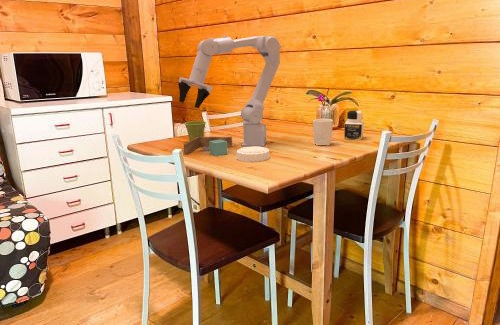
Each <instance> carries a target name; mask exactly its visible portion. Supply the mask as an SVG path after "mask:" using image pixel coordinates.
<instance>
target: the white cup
mask: <svg viewBox="0 0 500 325" xmlns="http://www.w3.org/2000/svg"><path fill="white" fill-rule="evenodd" d="M333 122H334V120H333V119H332V118H315V119H313V120H312V128H313V131H312V132H313V144H314V145H315V144H316V145H315V146H318V145H327V146H331V145H330V144H332V136H333V125H334V123H333Z"/></svg>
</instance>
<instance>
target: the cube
mask: <svg viewBox="0 0 500 325" xmlns="http://www.w3.org/2000/svg"><path fill="white" fill-rule="evenodd" d="M209 148H210V151H209V154H210V155H212V156H215V157H219V156H225V155H228V154H229V153H228V147H227V141H224V140H221V139H220V140H214V141H209Z"/></svg>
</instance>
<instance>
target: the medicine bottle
mask: <svg viewBox="0 0 500 325" xmlns="http://www.w3.org/2000/svg"><path fill="white" fill-rule="evenodd" d="M346 113H347V115H346V116H347V117H346V118H347V119H346V122H345V123H344V136H343V137H344V138H343V139H344V140H345V139H355V140H354V141H362V139H363V137H364V126H365V125H364V121H363V120H362V118H363V112H362V111H361V110H349V111H347V112H346Z"/></svg>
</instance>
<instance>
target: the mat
mask: <svg viewBox="0 0 500 325" xmlns="http://www.w3.org/2000/svg"><path fill="white" fill-rule="evenodd" d="M199 152H210V148H209V147H203V148H202V149H200V150H199Z"/></svg>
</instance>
